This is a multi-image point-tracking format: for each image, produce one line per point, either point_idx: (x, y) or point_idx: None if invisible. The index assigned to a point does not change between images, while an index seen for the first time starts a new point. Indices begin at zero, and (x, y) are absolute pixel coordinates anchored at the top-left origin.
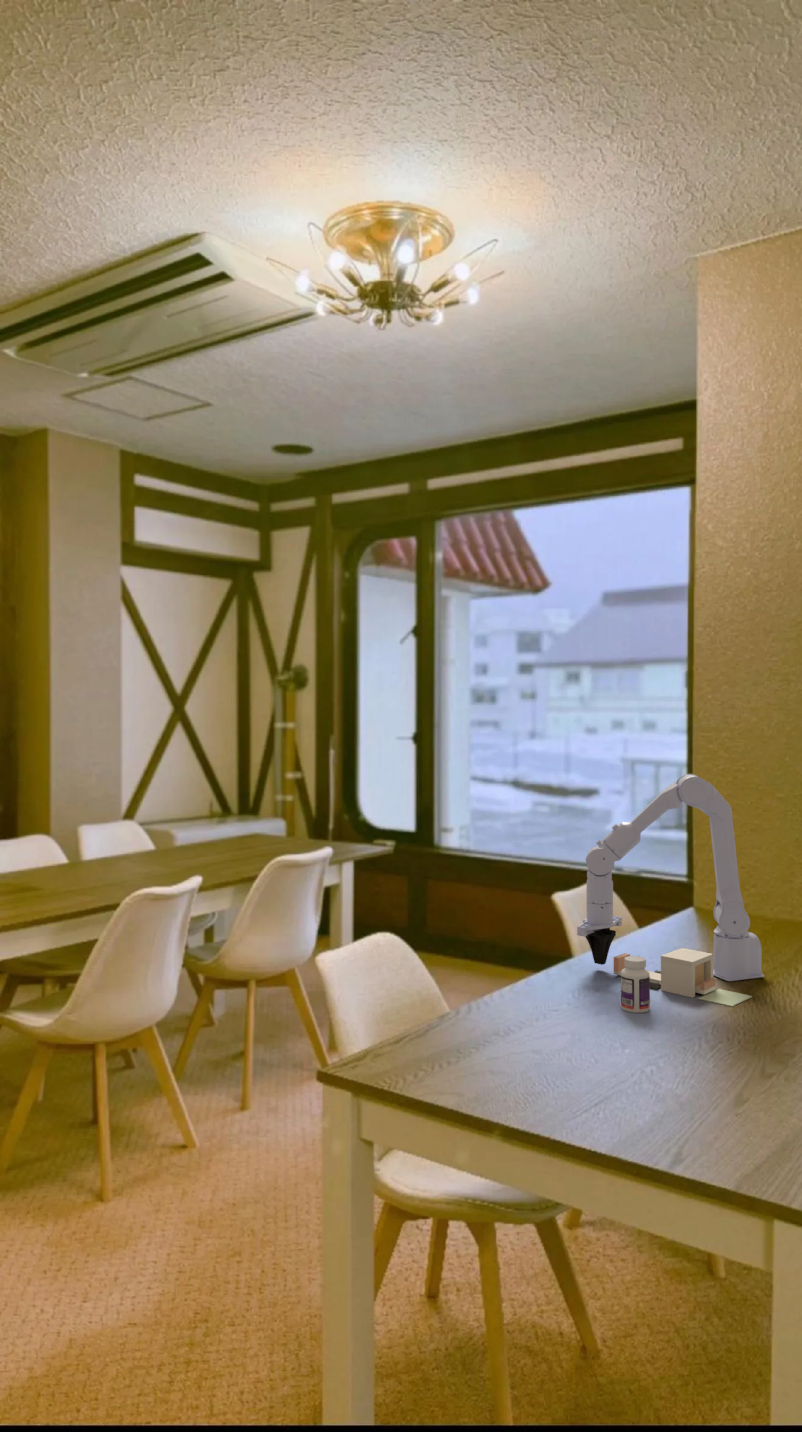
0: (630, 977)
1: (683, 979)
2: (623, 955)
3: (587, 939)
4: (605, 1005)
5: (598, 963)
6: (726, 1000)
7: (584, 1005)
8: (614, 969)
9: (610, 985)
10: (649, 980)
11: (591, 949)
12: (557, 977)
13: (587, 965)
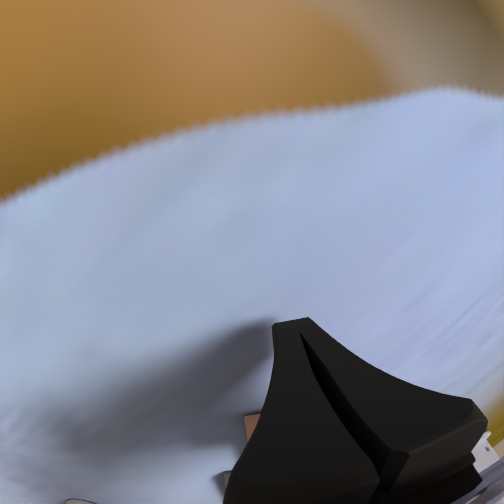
0: None
1: None
2: None
3: (250, 446)
4: (45, 481)
5: (274, 348)
6: None
7: (3, 458)
8: (247, 434)
9: (144, 449)
10: None
11: (271, 380)
12: (8, 284)
13: (306, 219)
